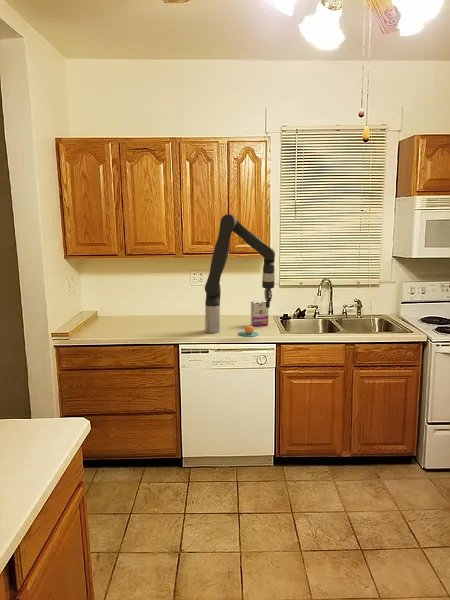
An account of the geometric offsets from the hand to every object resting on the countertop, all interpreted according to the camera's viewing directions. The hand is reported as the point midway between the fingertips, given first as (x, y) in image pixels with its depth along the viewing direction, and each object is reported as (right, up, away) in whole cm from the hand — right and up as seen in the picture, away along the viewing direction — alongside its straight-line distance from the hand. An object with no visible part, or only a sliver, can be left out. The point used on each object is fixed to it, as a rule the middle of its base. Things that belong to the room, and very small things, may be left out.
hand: (267, 307), depth 281 cm
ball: (-11, -14, +2) cm, 18 cm away
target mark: (-12, -17, +2) cm, 21 cm away
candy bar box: (-3, -13, +25) cm, 28 cm away
